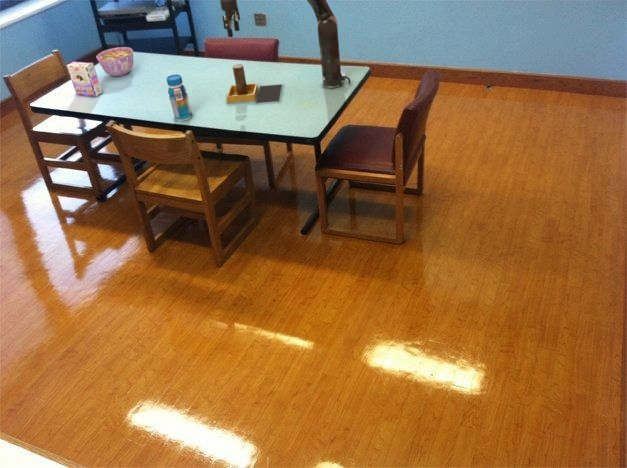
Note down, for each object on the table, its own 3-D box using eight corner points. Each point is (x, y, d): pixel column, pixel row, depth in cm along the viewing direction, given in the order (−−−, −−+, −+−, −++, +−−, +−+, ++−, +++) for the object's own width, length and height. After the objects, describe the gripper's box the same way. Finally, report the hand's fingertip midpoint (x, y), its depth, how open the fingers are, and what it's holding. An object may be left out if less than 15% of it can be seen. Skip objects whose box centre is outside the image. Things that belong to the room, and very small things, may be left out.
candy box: (103, 92, 316) (93, 62, 306) (96, 97, 312) (85, 66, 302) (83, 90, 322) (73, 60, 312) (76, 95, 317) (65, 65, 308)
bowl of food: (133, 78, 328) (127, 58, 321) (98, 82, 329) (91, 61, 323) (142, 65, 344) (136, 45, 337) (108, 68, 346) (102, 48, 339)
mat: (282, 85, 301) (281, 84, 301) (278, 102, 285) (278, 101, 285) (260, 87, 302) (260, 86, 302) (256, 104, 286) (255, 103, 286)
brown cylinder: (248, 92, 296) (243, 63, 287) (247, 97, 292) (242, 67, 283) (238, 93, 296) (233, 64, 288) (237, 98, 292) (231, 68, 283)
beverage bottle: (171, 120, 280) (160, 80, 268) (180, 112, 286) (170, 72, 274) (186, 122, 277) (176, 81, 265) (195, 114, 283) (186, 73, 271)
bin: (258, 89, 299) (257, 83, 297) (255, 101, 288) (254, 94, 286) (231, 91, 300) (230, 85, 298) (227, 103, 290) (226, 96, 288)
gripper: (229, 3, 268) (236, 39, 278) (241, -7, 279) (246, 28, 289) (214, 3, 270) (221, 39, 280) (226, -6, 281) (232, 28, 291)
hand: (234, 33), depth 284 cm, fingers open, 8 cm apart
